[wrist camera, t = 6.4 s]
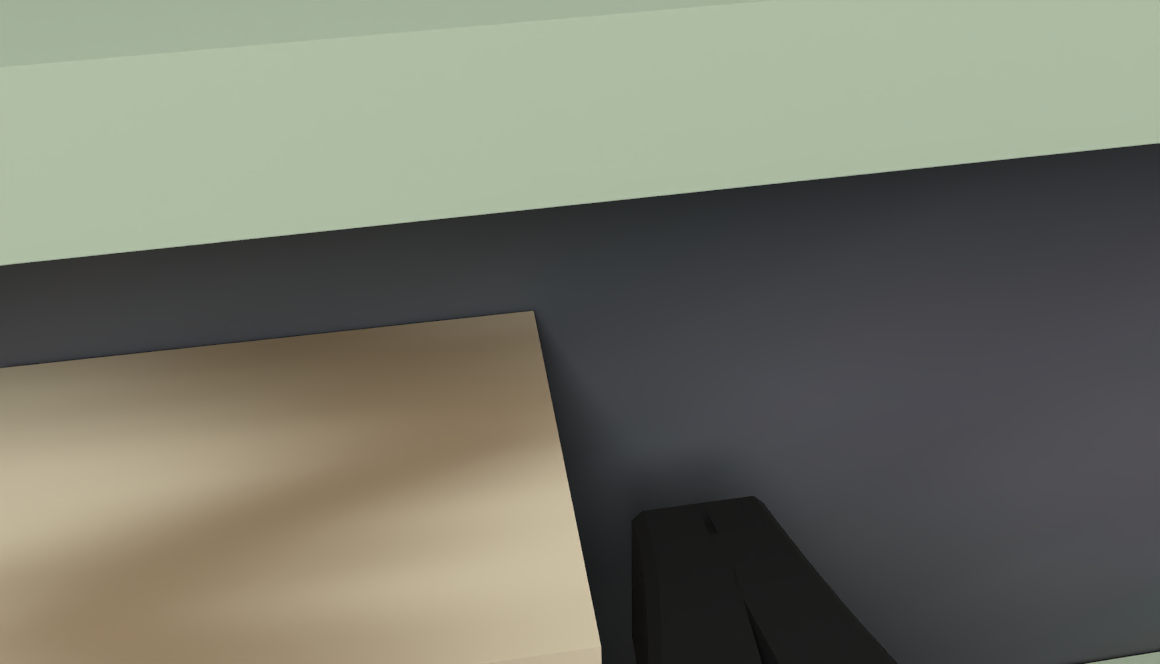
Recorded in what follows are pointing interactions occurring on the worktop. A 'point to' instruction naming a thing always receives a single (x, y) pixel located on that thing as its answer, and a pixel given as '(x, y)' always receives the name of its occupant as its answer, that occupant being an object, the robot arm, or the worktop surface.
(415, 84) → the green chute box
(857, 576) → the worktop surface
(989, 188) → the worktop surface
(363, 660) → the maple block
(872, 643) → the robot arm
